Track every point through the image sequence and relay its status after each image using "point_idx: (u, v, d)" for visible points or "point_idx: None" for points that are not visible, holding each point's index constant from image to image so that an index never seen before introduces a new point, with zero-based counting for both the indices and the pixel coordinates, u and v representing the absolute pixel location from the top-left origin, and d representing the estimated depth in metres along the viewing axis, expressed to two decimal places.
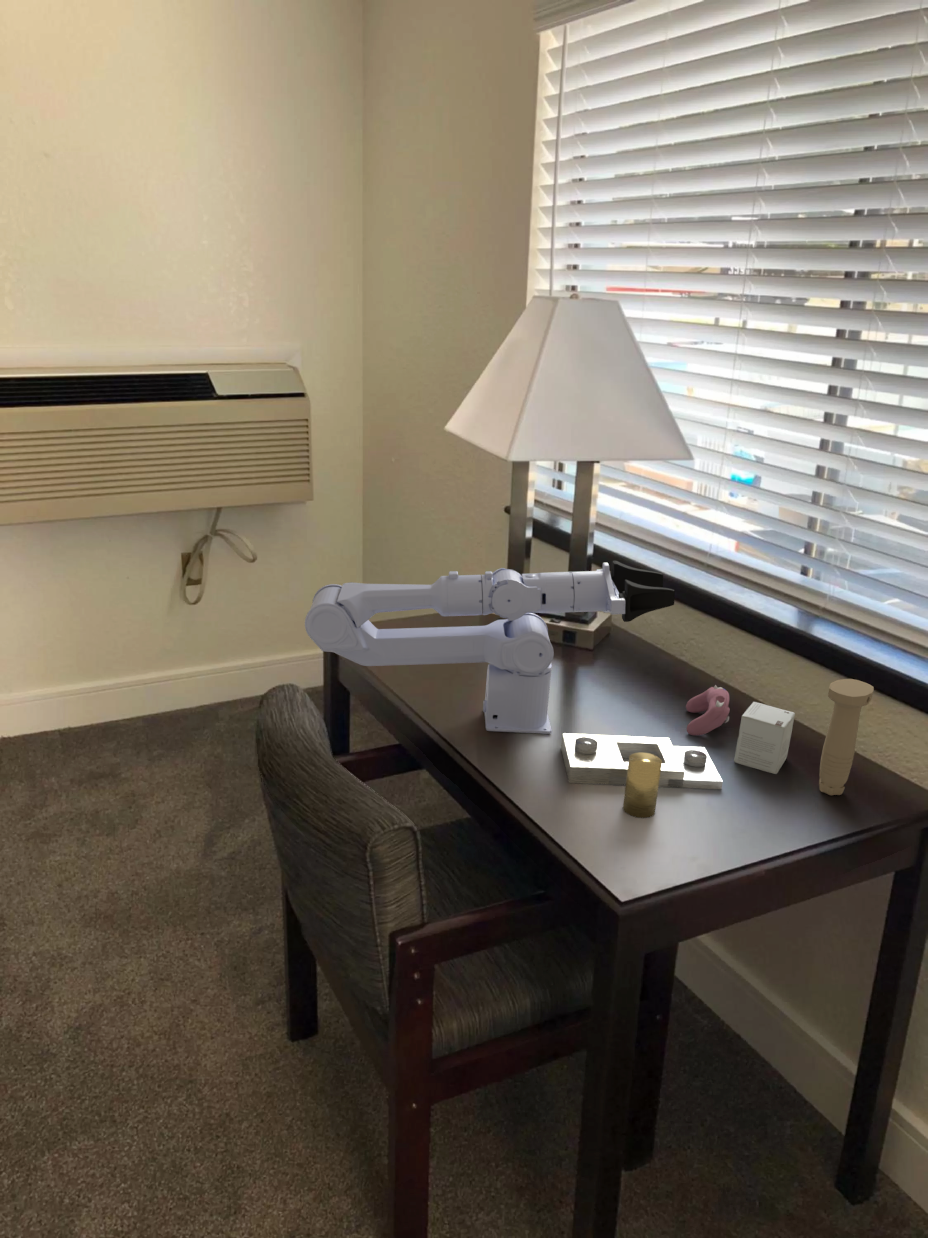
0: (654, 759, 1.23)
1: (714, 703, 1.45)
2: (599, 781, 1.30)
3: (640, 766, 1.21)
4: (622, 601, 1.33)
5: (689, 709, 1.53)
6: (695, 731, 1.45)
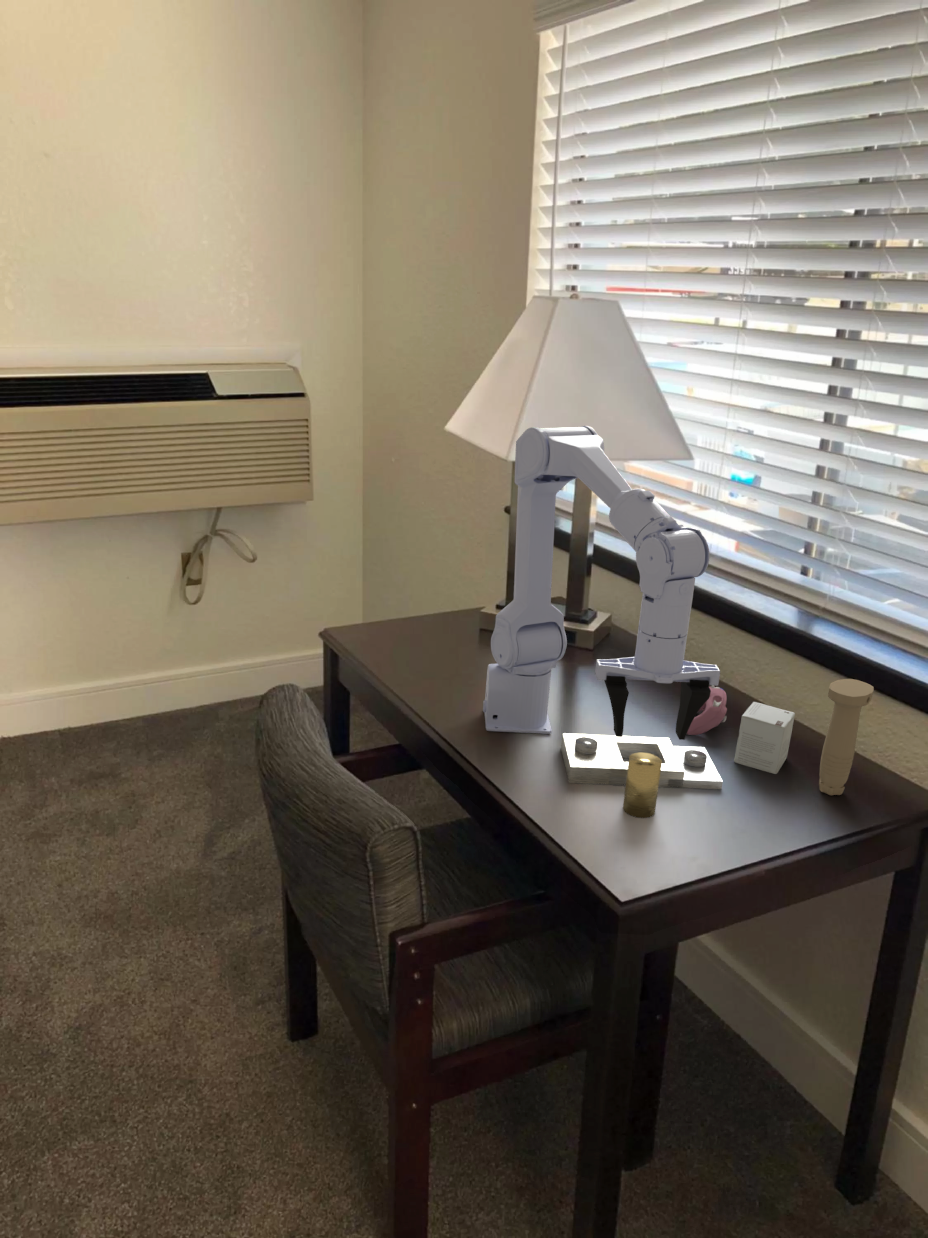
0: (654, 759, 1.23)
1: (711, 703, 1.45)
2: (599, 781, 1.30)
3: (640, 766, 1.21)
4: (597, 676, 1.18)
5: None
6: (692, 730, 1.45)
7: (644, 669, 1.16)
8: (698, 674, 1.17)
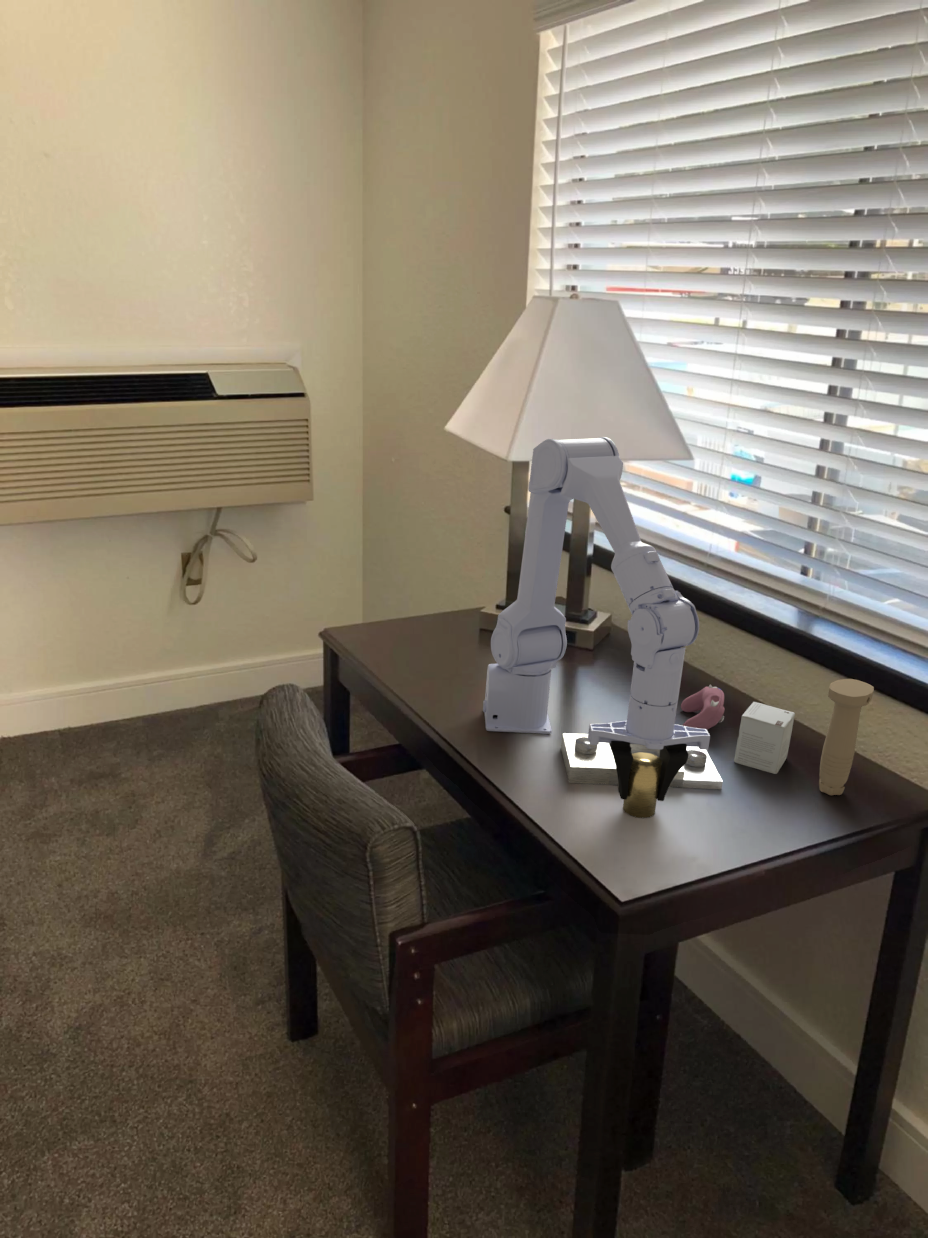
0: (654, 759, 1.23)
1: (709, 702, 1.45)
2: (599, 781, 1.30)
3: (640, 766, 1.21)
4: (590, 741, 1.21)
5: (684, 709, 1.54)
6: None
7: (636, 735, 1.19)
8: (688, 739, 1.20)
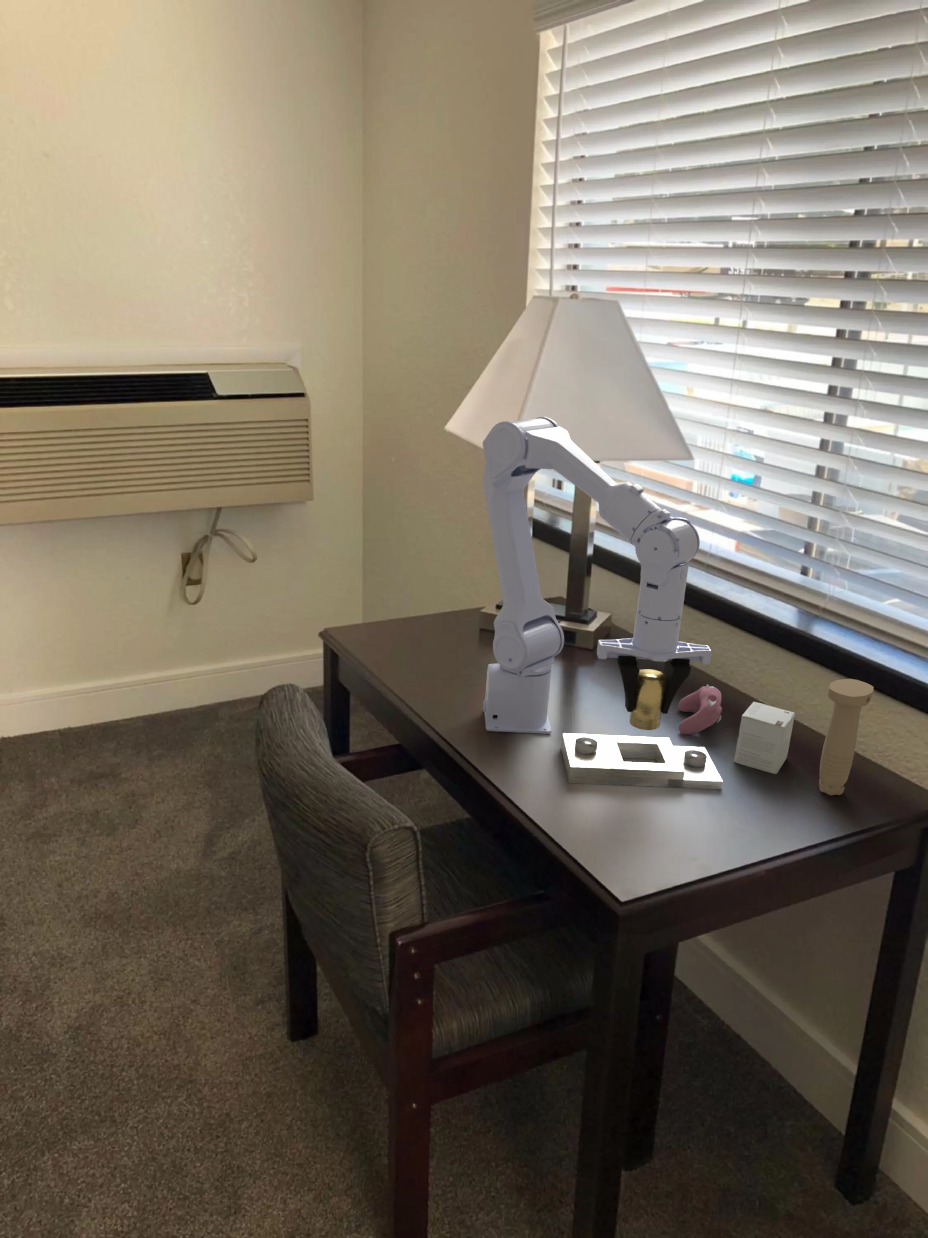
0: (659, 675, 1.30)
1: (706, 702, 1.45)
2: (599, 781, 1.30)
3: (646, 680, 1.29)
4: (598, 655, 1.28)
5: (681, 708, 1.54)
6: (687, 730, 1.45)
7: (641, 649, 1.27)
8: (691, 653, 1.28)
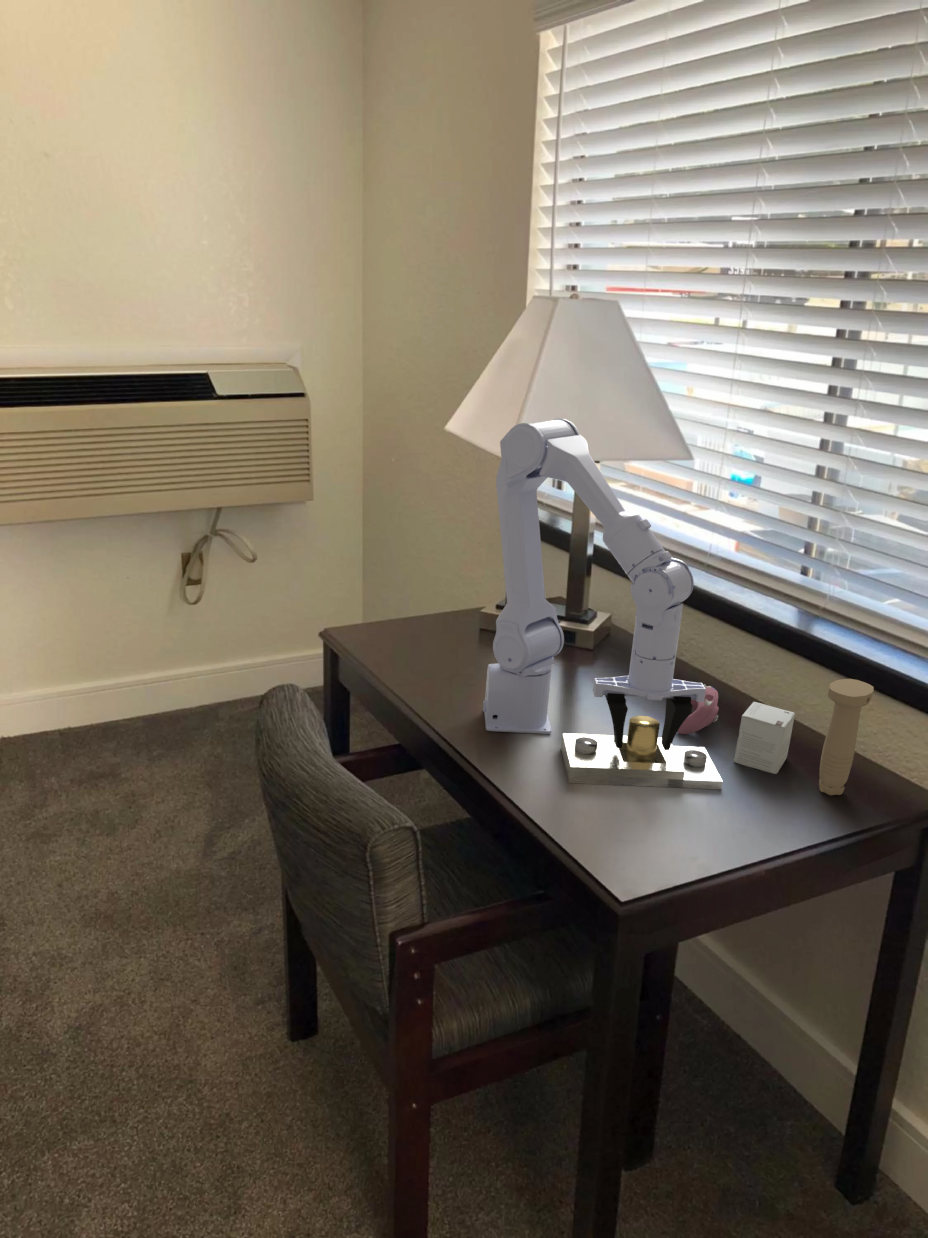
0: (652, 721, 1.33)
1: (703, 702, 1.46)
2: (599, 781, 1.30)
3: (639, 727, 1.31)
4: (594, 693, 1.30)
5: None
6: (684, 729, 1.46)
7: (637, 687, 1.29)
8: (686, 692, 1.30)
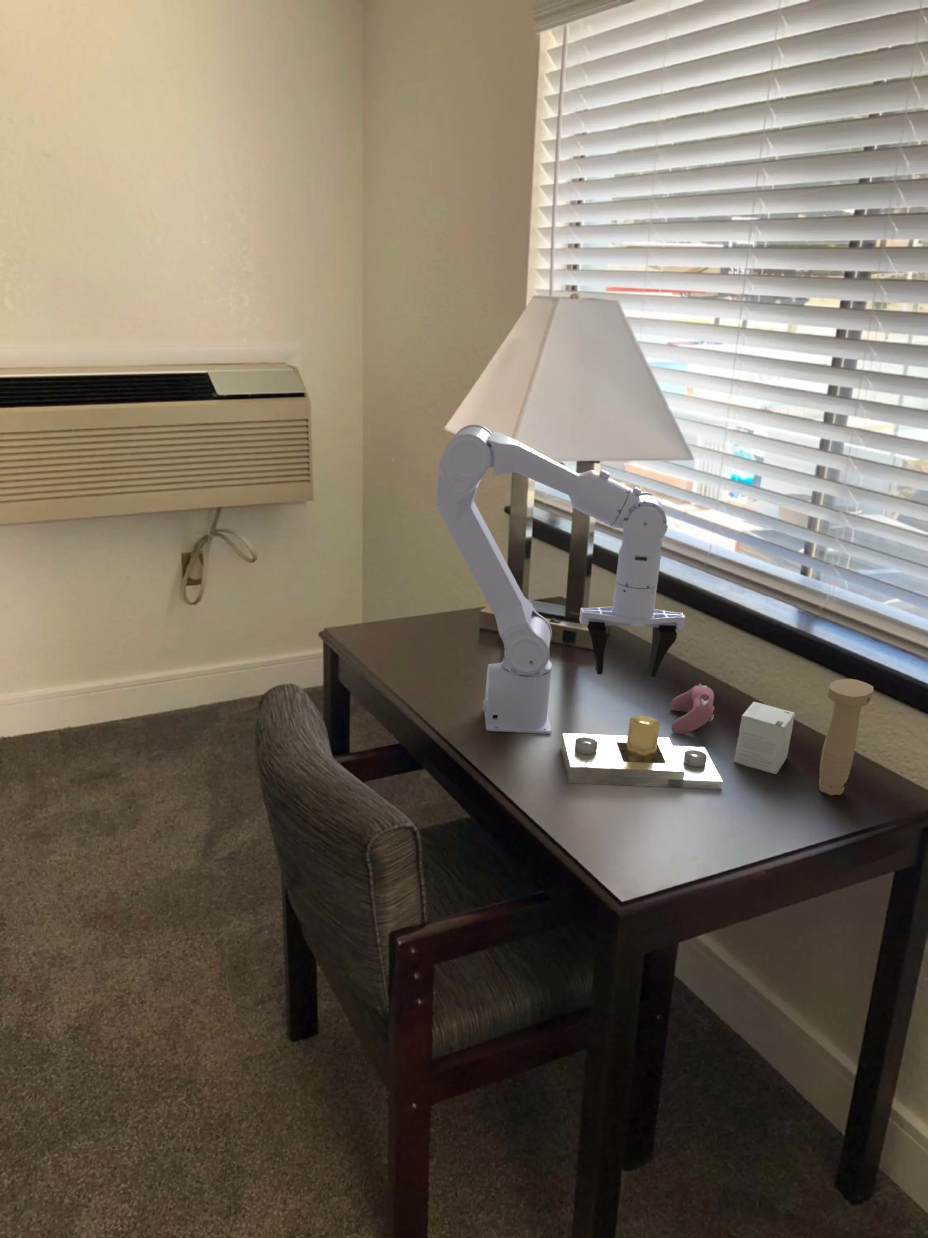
0: (653, 721, 1.33)
1: (699, 701, 1.46)
2: (599, 781, 1.30)
3: (640, 727, 1.31)
4: (581, 622, 1.39)
5: (674, 708, 1.54)
6: (680, 729, 1.46)
7: (620, 615, 1.37)
8: (666, 620, 1.38)
